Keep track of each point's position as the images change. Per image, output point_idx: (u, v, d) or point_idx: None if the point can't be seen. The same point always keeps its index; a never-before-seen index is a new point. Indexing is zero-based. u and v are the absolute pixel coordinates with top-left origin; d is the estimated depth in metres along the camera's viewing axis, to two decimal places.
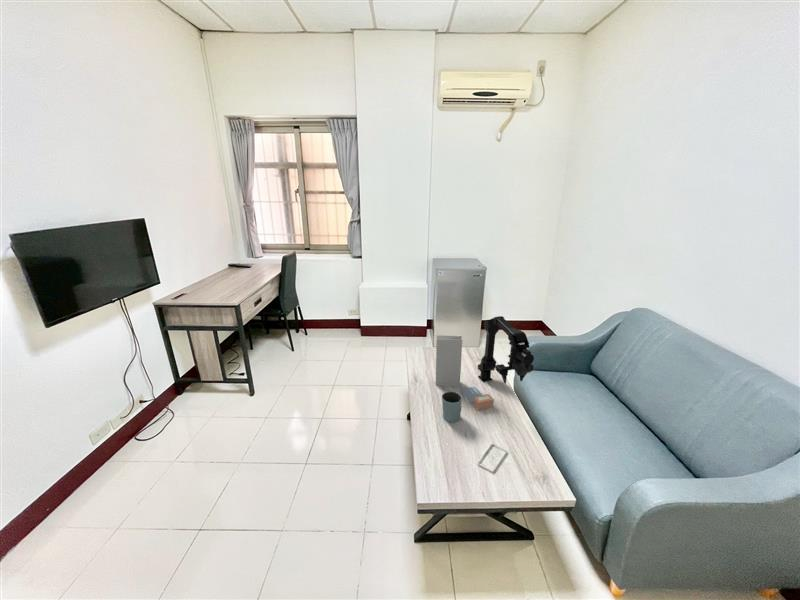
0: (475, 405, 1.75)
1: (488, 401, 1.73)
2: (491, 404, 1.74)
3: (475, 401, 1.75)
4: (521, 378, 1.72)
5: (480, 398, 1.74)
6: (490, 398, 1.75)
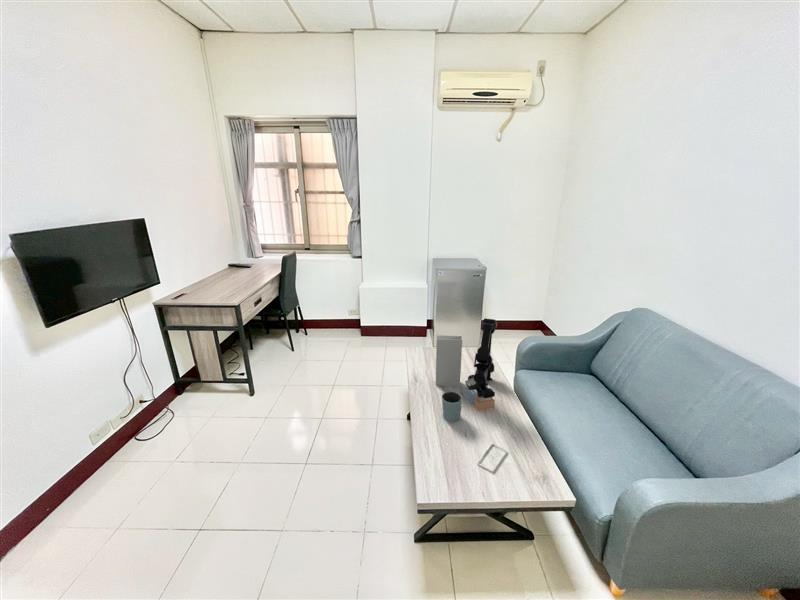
0: (476, 406, 1.74)
1: (489, 402, 1.72)
2: (492, 405, 1.74)
3: (476, 402, 1.74)
4: (479, 396, 1.78)
5: (481, 399, 1.74)
6: (491, 399, 1.74)
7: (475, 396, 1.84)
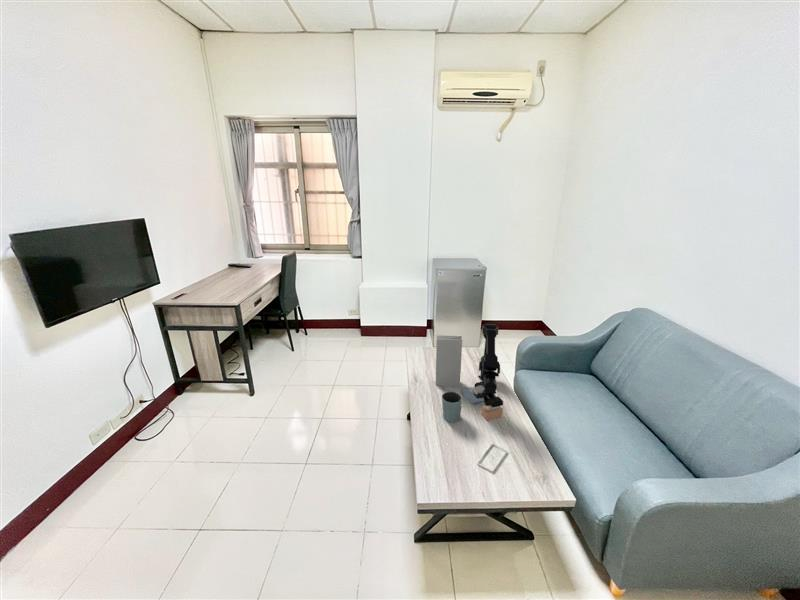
0: (483, 415, 1.67)
1: (497, 411, 1.65)
2: (500, 414, 1.67)
3: (483, 411, 1.67)
4: None
5: (488, 408, 1.67)
6: (499, 408, 1.67)
7: None
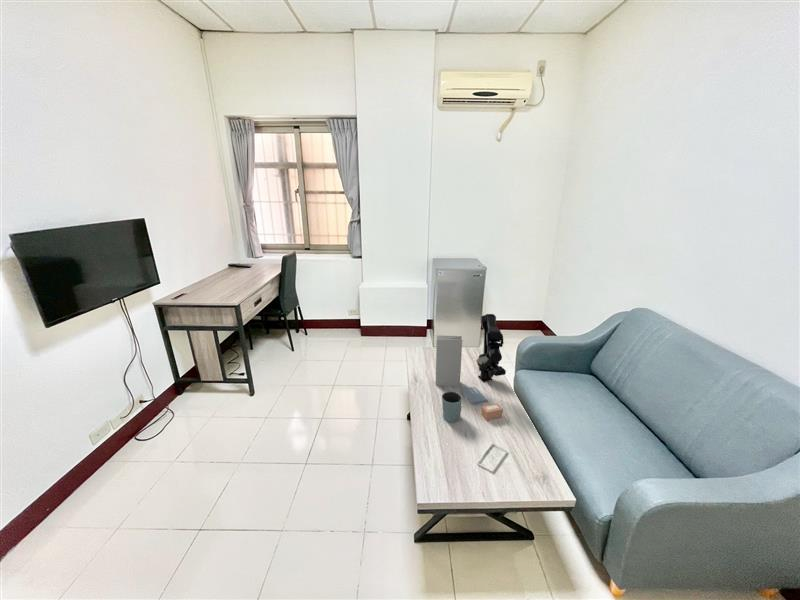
0: (483, 415, 1.67)
1: (497, 411, 1.65)
2: (500, 414, 1.67)
3: (483, 411, 1.67)
4: None
5: (488, 408, 1.67)
6: (499, 408, 1.67)
7: (475, 396, 1.84)
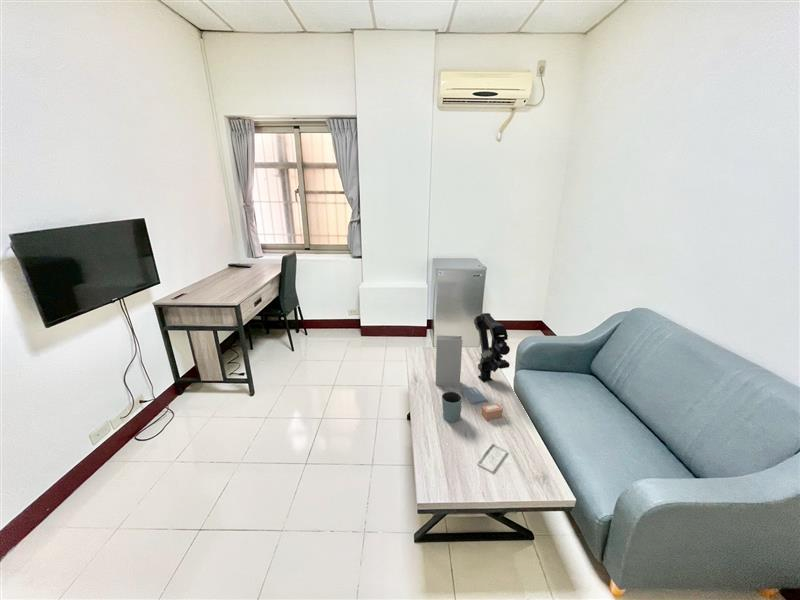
0: (483, 415, 1.67)
1: (497, 411, 1.65)
2: (500, 414, 1.67)
3: (483, 411, 1.67)
4: None
5: (488, 408, 1.67)
6: (499, 408, 1.67)
7: (475, 396, 1.84)
